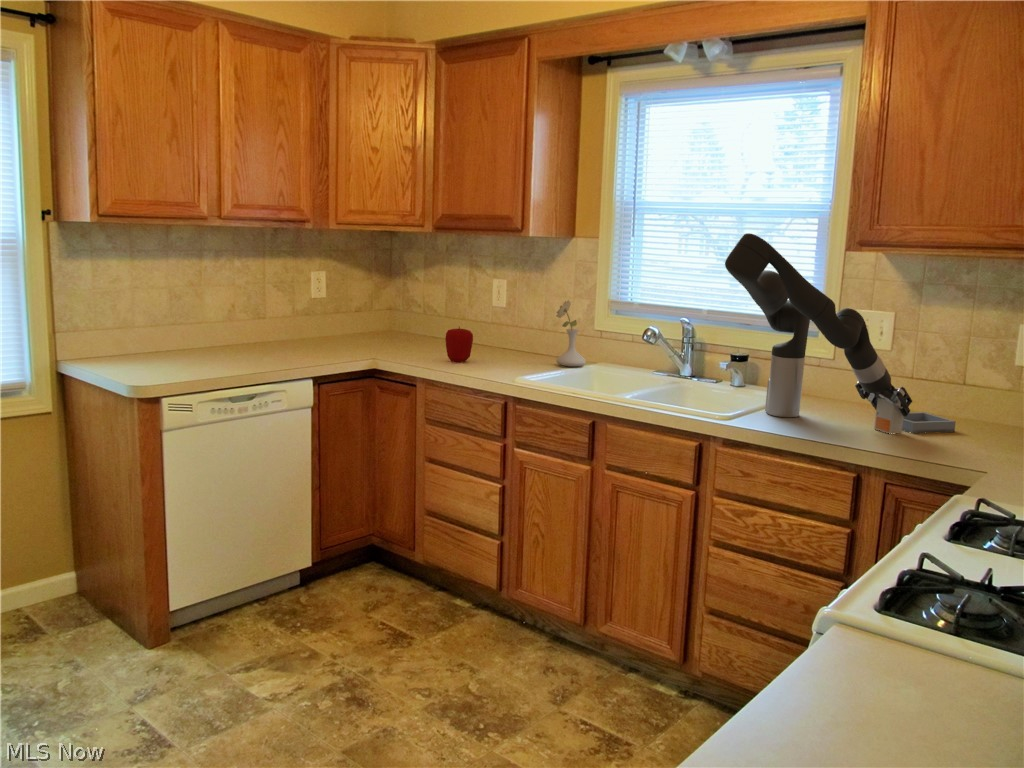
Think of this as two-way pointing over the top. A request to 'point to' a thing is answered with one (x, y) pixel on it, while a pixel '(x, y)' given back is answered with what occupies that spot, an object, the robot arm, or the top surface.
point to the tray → (927, 423)
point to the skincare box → (888, 416)
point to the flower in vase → (571, 354)
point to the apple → (458, 344)
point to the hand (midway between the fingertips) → (892, 411)
